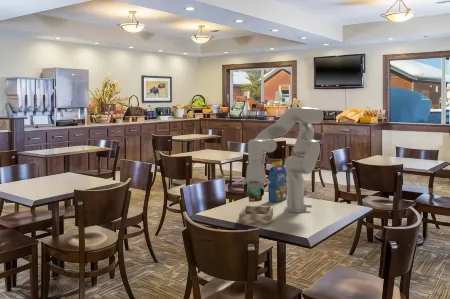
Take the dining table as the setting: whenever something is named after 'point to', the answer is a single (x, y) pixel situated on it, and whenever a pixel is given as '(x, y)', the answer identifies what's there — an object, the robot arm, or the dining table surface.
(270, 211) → the birch box
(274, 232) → the dining table surface
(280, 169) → the blue food package
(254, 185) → the food container
